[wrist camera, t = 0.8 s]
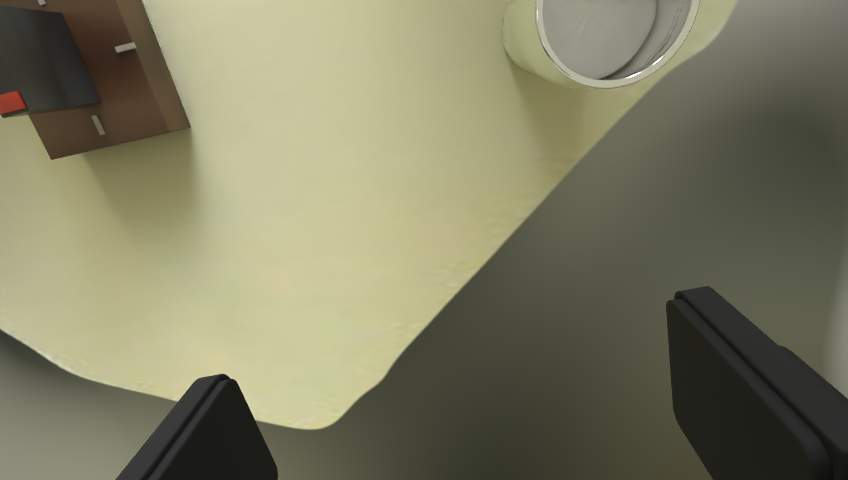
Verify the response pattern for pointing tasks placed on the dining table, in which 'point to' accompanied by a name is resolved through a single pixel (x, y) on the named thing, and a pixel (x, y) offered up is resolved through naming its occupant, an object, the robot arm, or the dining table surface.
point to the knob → (40, 64)
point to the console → (111, 78)
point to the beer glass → (595, 38)
